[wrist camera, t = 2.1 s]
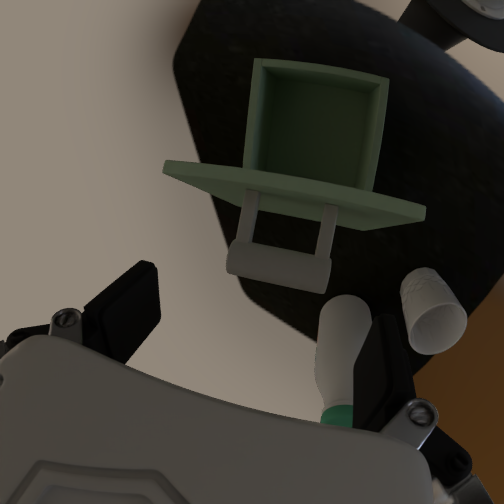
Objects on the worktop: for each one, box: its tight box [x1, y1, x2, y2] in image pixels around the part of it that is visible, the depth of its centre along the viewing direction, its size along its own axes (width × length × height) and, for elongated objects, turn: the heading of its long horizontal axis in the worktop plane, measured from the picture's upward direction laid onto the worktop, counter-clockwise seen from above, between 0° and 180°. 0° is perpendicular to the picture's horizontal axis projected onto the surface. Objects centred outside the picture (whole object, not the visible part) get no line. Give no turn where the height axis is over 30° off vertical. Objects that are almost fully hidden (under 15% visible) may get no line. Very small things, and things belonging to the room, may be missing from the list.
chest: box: [243, 58, 389, 192], centre depth 28 cm, size 15×13×9 cm
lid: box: [163, 160, 426, 294], centre depth 20 cm, size 15×13×5 cm
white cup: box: [400, 267, 467, 355], centre depth 32 cm, size 8×8×10 cm
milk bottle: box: [315, 295, 372, 428], centre depth 32 cm, size 8×8×20 cm
